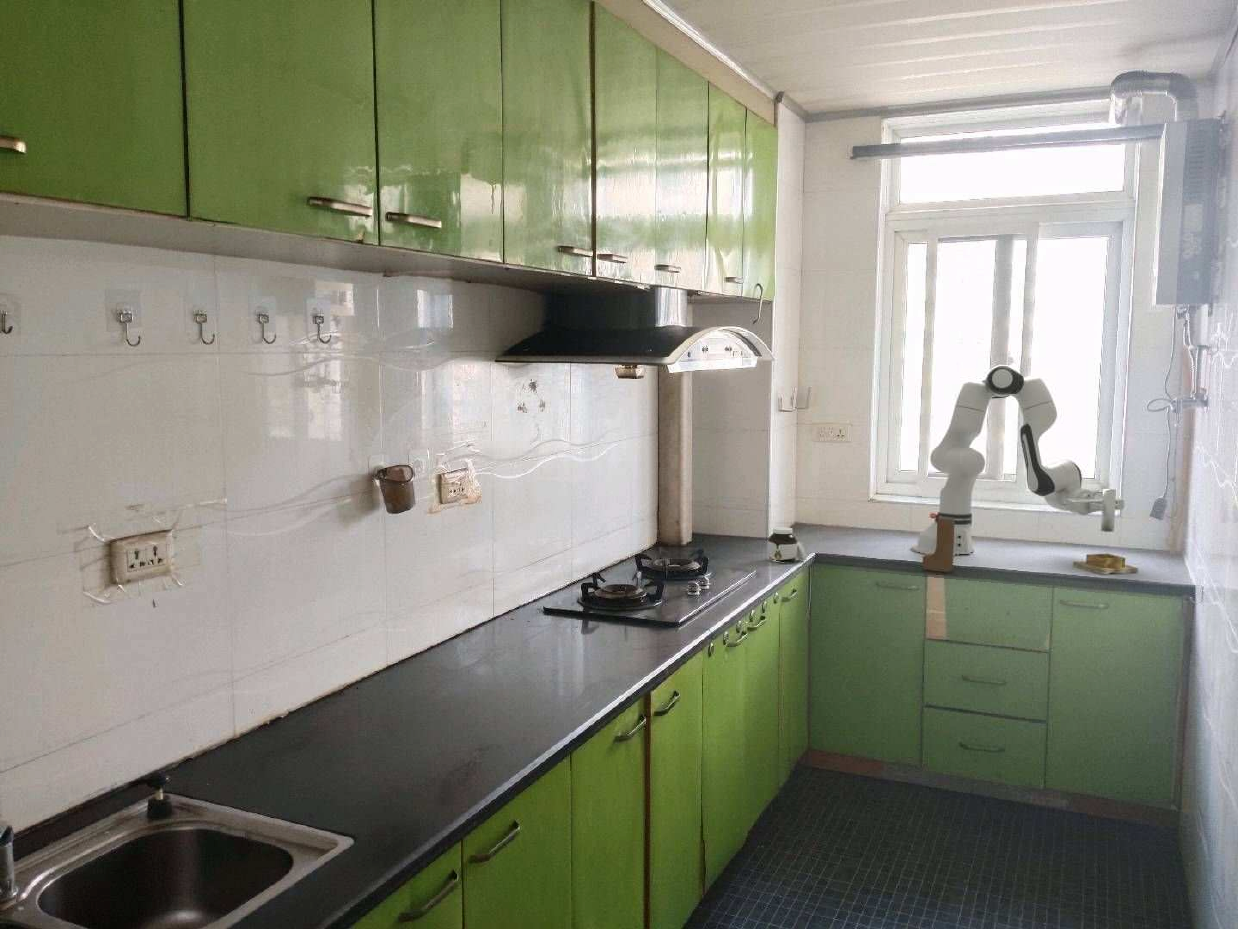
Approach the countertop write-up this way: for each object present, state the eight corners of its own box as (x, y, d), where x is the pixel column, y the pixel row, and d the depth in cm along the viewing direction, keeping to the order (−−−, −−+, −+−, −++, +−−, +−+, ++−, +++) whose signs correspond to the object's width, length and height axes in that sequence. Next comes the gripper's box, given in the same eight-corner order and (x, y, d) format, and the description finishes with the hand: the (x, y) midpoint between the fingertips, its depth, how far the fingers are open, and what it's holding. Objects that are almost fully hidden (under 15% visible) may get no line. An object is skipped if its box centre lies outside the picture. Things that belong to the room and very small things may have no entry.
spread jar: (763, 560, 351) (764, 527, 350) (785, 556, 358) (785, 524, 357) (790, 565, 342) (790, 532, 341) (811, 561, 349) (812, 528, 348)
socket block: (1101, 574, 328) (1102, 561, 328) (1073, 566, 342) (1073, 553, 342) (1137, 572, 332) (1138, 559, 331) (1108, 564, 345) (1108, 551, 345)
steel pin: (1106, 532, 333) (1108, 490, 332) (1098, 530, 337) (1100, 489, 335) (1116, 531, 334) (1118, 490, 333) (1108, 529, 338) (1110, 488, 336)
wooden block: (921, 569, 336) (923, 516, 334) (926, 567, 340) (928, 515, 338) (948, 573, 331) (950, 519, 329) (953, 570, 334) (955, 517, 332)
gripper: (1056, 493, 344) (1084, 499, 331) (1107, 491, 349) (1136, 497, 336) (1055, 511, 345) (1083, 518, 332) (1106, 509, 350) (1135, 515, 337)
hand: (1110, 507), depth 334 cm, fingers closed on steel pin, 4 cm apart
